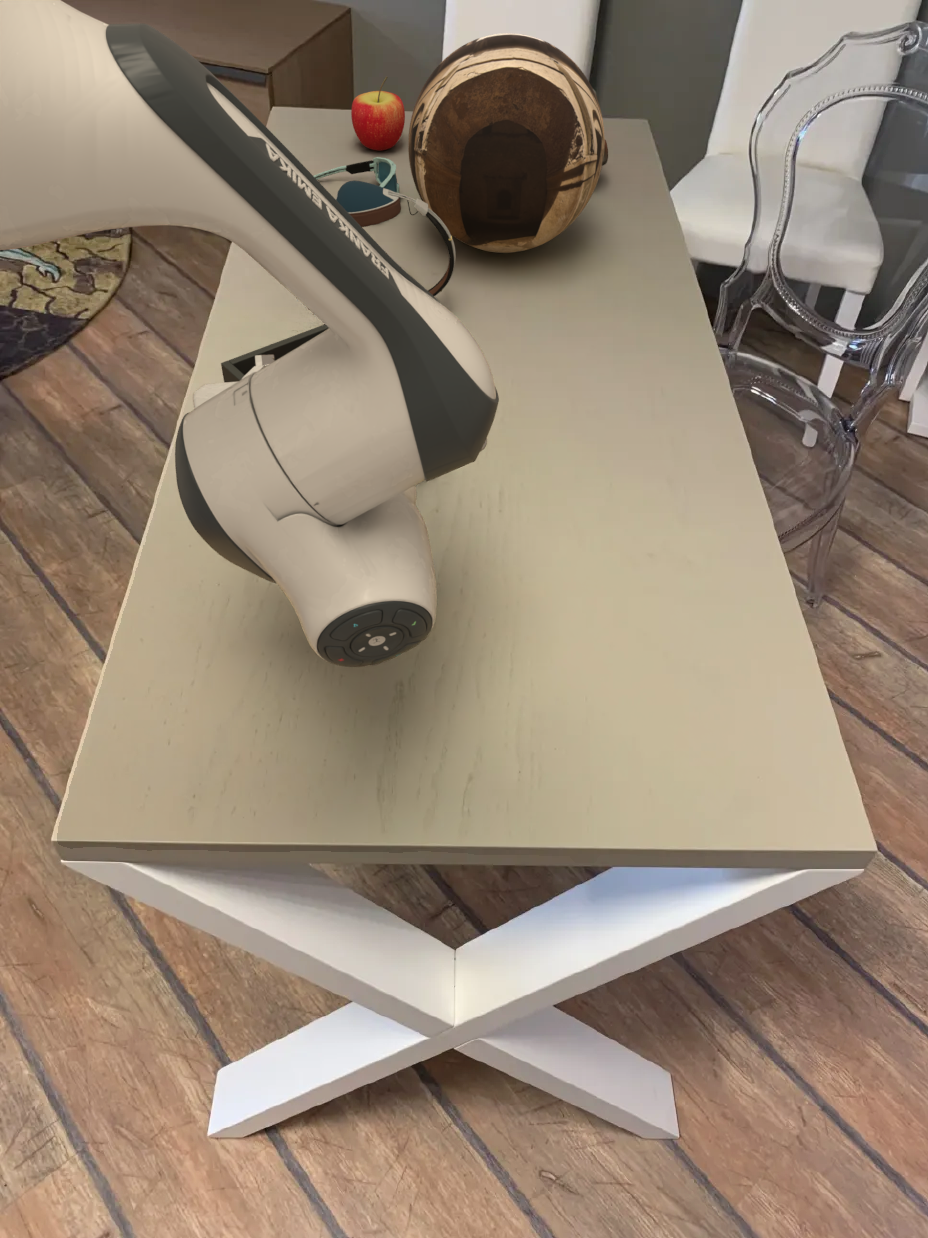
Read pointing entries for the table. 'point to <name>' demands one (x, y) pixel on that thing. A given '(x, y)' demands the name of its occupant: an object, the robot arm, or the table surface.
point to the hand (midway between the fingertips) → (326, 357)
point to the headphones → (390, 214)
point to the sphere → (506, 142)
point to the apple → (378, 119)
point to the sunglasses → (380, 166)
